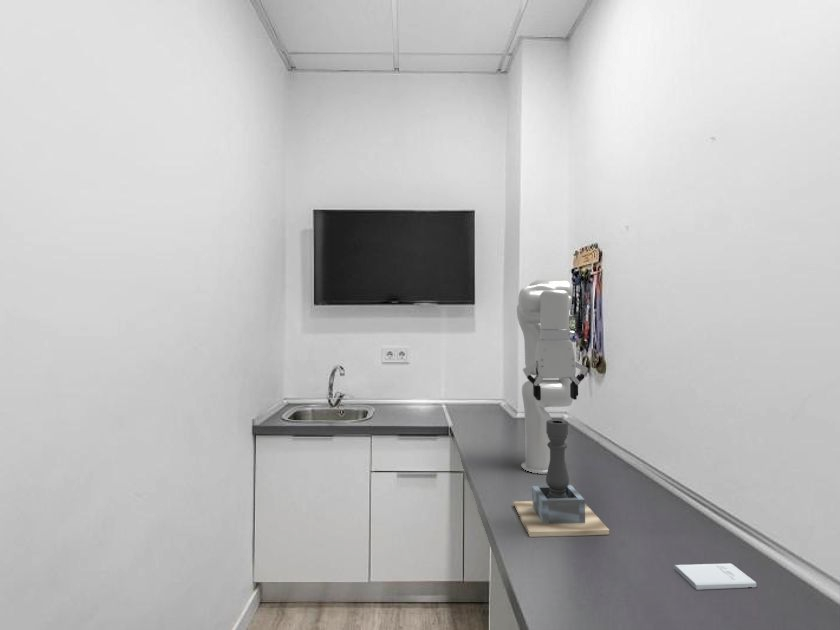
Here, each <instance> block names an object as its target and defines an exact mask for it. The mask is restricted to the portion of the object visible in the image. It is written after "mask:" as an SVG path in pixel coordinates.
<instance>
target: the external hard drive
mask: <svg viewBox="0 0 840 630" xmlns="http://www.w3.org/2000/svg"><path fill="white" fill-rule="evenodd" d="M673 569H674V570H675V571H676V572H677V573H678V574H679V575H680V576H681V577H682V578H684V580H685V581H687V582H688V584H690V585H691V587H693V588H694V589H695V590H696V591H697V590H698V591H700V590H701V591H702V590H723V589H724V590H725V589H727V590H728V589H749V588H748V587H752V588H758V587H757V582H756V581H755V580H753V578H751V577H750V576H748V575H747V574H746V573H745V572H743V571H742V570H740V569H739V568H738V567H737V566H735V565H734V564H733V563H702V564H700V563H697V564H674V566H673Z"/></svg>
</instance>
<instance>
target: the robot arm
mask: <svg viewBox="0 0 840 630" xmlns="http://www.w3.org/2000/svg"><path fill="white" fill-rule="evenodd" d="M572 288H573V287H572V285H571V283H570V281H568V280H566V279H562V278H561V279H560V278H559V279H558V278H557V279H537V280H534V281H532V282H531V283H530V284H529V285H528V286H525V287H523V288H521V289H520V291H519V293H518V302H517V303H518V304H517V306H516V317H517V321H518V324H519V327H520V330H521V332H522V335H523V339H524V364H525V367H524V368H522V371H523V373H524V375H525V377H526V379H527V381H525V382H524V383H523V384H522V387H521V396H522V401H523V409H524V436H525V438H524V440H525V441H524V442H525V443H524V444H525V446H524V449H525V461H523V462H522V463H521V464H520V467H522V468H523V469H524V470H523V469H522V468H521V469H522V470H523V471H525V470H526V471H525V472H527V471H529V472H528V473H530V472H532V473H531V474H537V473H538V474H539V475H547V471H548V467H549V462H550V449H549V447H548V446H547V444H548V443H549V442H550V440H549V438H548V434H547V433H546V421H548V420H553V419H552V416H551V415H550V414H549V412H548V411H547V410H546V409H545V408H550V407H552V408H553V407H554V408H557V407H558V408H560V407H562V408H564V407H565V408H566V407H570V406H571V405H572V403H573V400H577V399H578V396H579V385H580V384H581V382H582V381H583V380H584V379H585V377H586V374H587V373H588V370H589V368H588V367H586V366H585V365H583V364H581V363H579V362H576V357H575V351H574V349H575V348H574V345H573V341H572V340H570V339H571V337H575V333H576V332H575V331H574V330H571V328H570V310H571V309H572V301H573V289H572ZM576 369H579V370H580V371H579V373H578V374H577V375H576ZM533 376H534V377H533ZM538 474H537V475H538Z"/></svg>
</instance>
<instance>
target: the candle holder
mask: <svg viewBox="0 0 840 630" xmlns="http://www.w3.org/2000/svg"><path fill="white" fill-rule="evenodd" d="M546 433H547V434H548V438H549V440H550V442H549V443H548V444H547V446H548V447H549V449H550V462H549V467H548V471H547V474H546V476H545V483H546V486H549V490H550V491H549V493H548V494H547V498H568V496H567V494H566V493H565V491H566V488H567V487H568V485H570V477H569V474H568V470H567V464H566V458H565V457H566V455H565V451H566V450H567V448H568V444H567V443H566V439H567V438H568V436H569V422H568V421H566V420H562V419H552V420H548V421H546Z"/></svg>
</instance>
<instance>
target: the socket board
mask: <svg viewBox="0 0 840 630" xmlns="http://www.w3.org/2000/svg"><path fill="white" fill-rule="evenodd" d="M531 488H532V490H531V491H532V492H531V493H532V494H531V495H532V497H531V498H532V500H528V501H527V500H525V501H523V500H522V501H513V503H512V504H514V506H515V508H516V510H517V512H518V514H519V515H518V514H517V515H518V517H519V516H520V517H519V519H520V521H521V523H522V524H523V527H524V528H525V531H526V532H528V533H527V534H528V536H529V537H530V538H534V537H535V538H539V537H571V536H572V537H573V536H575V537H577V536H578V537H579V536H610V529H609V528H608V527H607V526H606V524H604V522H603V521H602V520H601V519H600V518H599V516H597V515H596V513H594V511H593V510H592V509H591V508H590V506H588V505H587V503H586V501H585V498H584V497H583V496H582V495H581V494H580V493H579V492H578V491H577V490H576V489H575V488H574V486H573V485H571V484H569V485H568V487H567V488H566V491H565V493H566V494H567V496H568V498H547V494H548V493H549V491H550V490H549V486H548V485H532V487H531ZM514 506H513V507H514ZM515 508H514V509H515ZM516 510H515V511H516ZM517 512H516V513H517Z"/></svg>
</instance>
